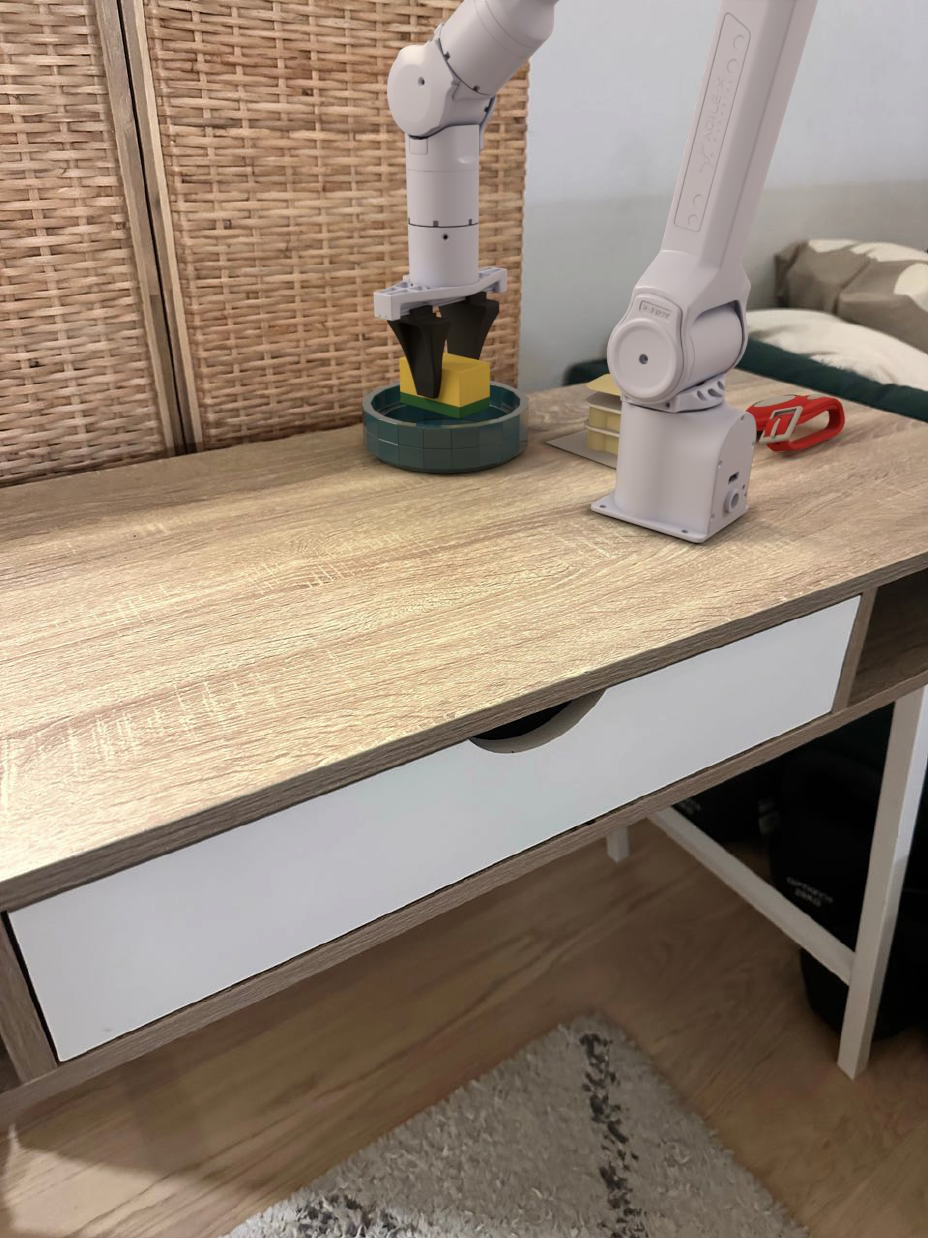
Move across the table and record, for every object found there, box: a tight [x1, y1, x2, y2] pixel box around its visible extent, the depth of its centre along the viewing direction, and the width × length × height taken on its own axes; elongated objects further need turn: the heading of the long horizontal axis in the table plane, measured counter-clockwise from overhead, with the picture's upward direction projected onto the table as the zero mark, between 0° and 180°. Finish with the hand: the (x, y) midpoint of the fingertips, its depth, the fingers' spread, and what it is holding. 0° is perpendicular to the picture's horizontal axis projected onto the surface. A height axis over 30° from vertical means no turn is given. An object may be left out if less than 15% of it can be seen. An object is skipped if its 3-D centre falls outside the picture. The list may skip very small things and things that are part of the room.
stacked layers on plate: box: [544, 373, 622, 470], centre depth 83 cm, size 10×9×6 cm
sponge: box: [398, 351, 491, 419], centre depth 82 cm, size 7×4×4 cm, turn 50°
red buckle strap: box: [745, 393, 846, 453], centre depth 85 cm, size 12×4×10 cm
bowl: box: [361, 380, 530, 474], centre depth 84 cm, size 15×15×4 cm
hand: (445, 389), depth 82 cm, fingers closed on sponge, 4 cm apart
